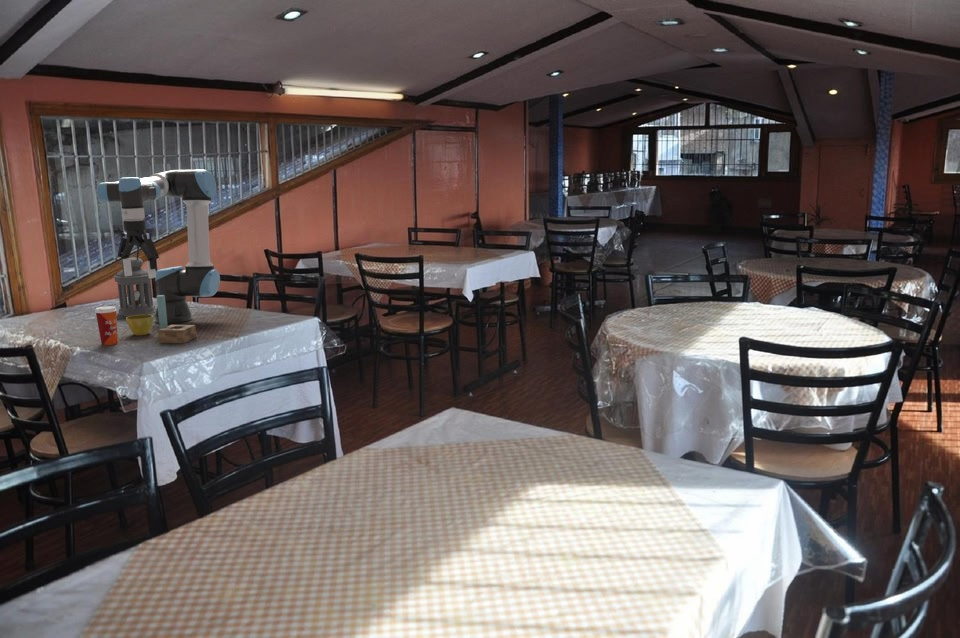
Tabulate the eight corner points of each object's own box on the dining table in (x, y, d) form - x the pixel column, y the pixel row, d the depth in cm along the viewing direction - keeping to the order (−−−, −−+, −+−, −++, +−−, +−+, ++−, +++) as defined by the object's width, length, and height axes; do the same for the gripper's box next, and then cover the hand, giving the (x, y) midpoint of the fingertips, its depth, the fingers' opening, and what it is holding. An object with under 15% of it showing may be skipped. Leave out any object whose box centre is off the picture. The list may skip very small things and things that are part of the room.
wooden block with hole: (172, 337, 311) (171, 324, 310) (196, 337, 310) (195, 324, 309) (159, 342, 301) (158, 330, 300) (184, 343, 300) (182, 330, 299)
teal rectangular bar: (162, 334, 316) (158, 295, 313) (169, 334, 316) (166, 295, 313) (159, 336, 313) (155, 296, 310) (166, 336, 313) (162, 296, 310)
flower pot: (141, 330, 324) (139, 313, 323) (160, 332, 321) (158, 315, 319) (122, 336, 315) (120, 318, 314) (141, 337, 312) (139, 319, 310)
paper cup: (112, 346, 297) (108, 309, 295) (94, 345, 299) (89, 309, 296) (125, 341, 305) (121, 306, 302) (107, 341, 306) (103, 305, 304)
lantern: (164, 309, 371) (157, 235, 364) (141, 316, 355) (133, 238, 348) (133, 308, 375) (125, 235, 368) (109, 315, 359) (100, 238, 353)
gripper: (103, 219, 294) (110, 276, 298) (147, 221, 282) (154, 280, 286) (121, 218, 300) (127, 273, 305) (165, 219, 288) (171, 277, 292)
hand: (140, 277), depth 295 cm, fingers open, 13 cm apart
